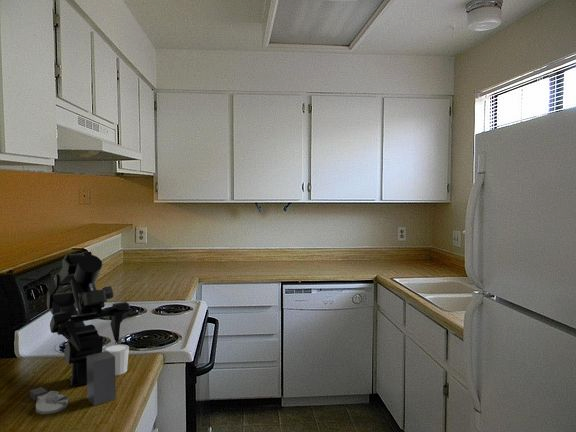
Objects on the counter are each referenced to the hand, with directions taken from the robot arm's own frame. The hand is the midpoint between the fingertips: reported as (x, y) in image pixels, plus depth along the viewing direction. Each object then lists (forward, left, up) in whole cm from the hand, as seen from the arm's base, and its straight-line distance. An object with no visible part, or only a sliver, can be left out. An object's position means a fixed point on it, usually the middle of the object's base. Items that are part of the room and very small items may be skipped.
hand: (99, 346), depth 110 cm
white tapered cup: (-16, +6, -14) cm, 22 cm away
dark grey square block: (0, 0, -14) cm, 14 cm away
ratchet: (-4, -12, -14) cm, 18 cm away
